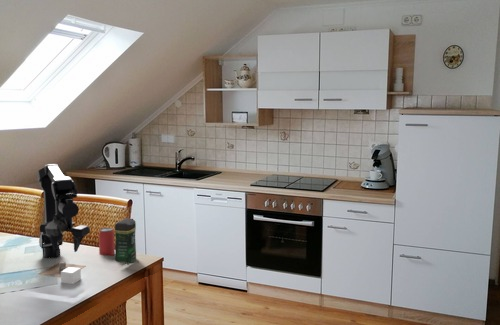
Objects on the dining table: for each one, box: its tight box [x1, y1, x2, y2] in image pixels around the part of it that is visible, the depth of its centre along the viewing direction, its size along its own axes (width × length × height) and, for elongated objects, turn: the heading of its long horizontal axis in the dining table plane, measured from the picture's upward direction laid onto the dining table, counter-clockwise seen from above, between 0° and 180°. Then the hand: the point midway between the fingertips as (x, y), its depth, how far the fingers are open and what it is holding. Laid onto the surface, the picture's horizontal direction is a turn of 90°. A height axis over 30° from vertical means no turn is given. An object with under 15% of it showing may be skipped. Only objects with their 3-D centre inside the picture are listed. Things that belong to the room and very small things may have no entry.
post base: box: [38, 261, 87, 278], centre depth 183 cm, size 13×13×4 cm
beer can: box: [98, 227, 115, 257], centre depth 204 cm, size 7×7×12 cm
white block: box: [60, 267, 82, 285], centre depth 172 cm, size 5×5×6 cm
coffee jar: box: [114, 217, 137, 265], centre depth 196 cm, size 10×8×19 cm
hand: (65, 250), depth 175 cm, fingers open, 9 cm apart
